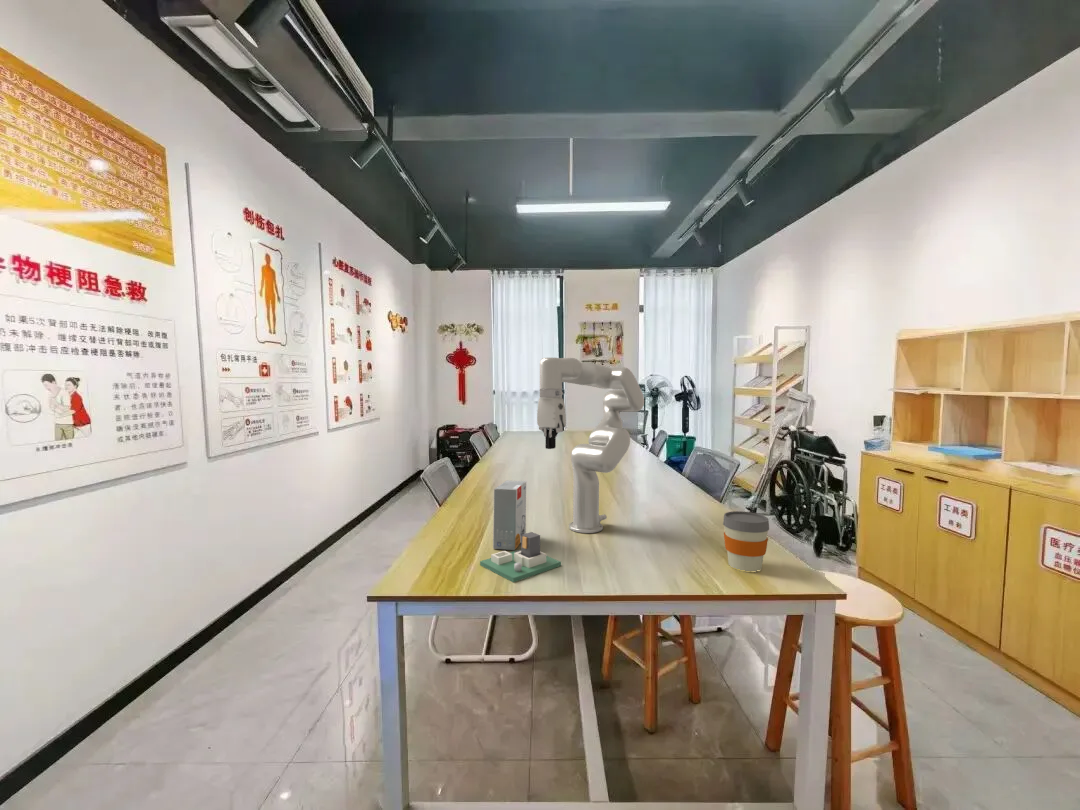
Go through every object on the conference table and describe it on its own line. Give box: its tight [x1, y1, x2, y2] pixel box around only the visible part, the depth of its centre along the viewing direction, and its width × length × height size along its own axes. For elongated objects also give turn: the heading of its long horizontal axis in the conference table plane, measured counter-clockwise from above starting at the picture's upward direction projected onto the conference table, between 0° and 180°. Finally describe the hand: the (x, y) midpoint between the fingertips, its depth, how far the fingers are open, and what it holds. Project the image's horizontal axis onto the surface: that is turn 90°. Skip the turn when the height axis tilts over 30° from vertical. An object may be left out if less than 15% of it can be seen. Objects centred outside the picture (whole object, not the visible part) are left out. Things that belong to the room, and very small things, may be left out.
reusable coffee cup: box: [722, 510, 770, 571], centre depth 139 cm, size 13×13×15 cm
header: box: [514, 551, 547, 568], centre depth 139 cm, size 7×7×2 cm
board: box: [479, 548, 562, 583], centre depth 140 cm, size 18×16×3 cm
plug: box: [520, 531, 541, 558], centre depth 139 cm, size 4×4×8 cm
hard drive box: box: [492, 479, 527, 551], centre depth 160 cm, size 16×8×20 cm, turn 168°
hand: (550, 448), depth 160 cm, fingers closed
